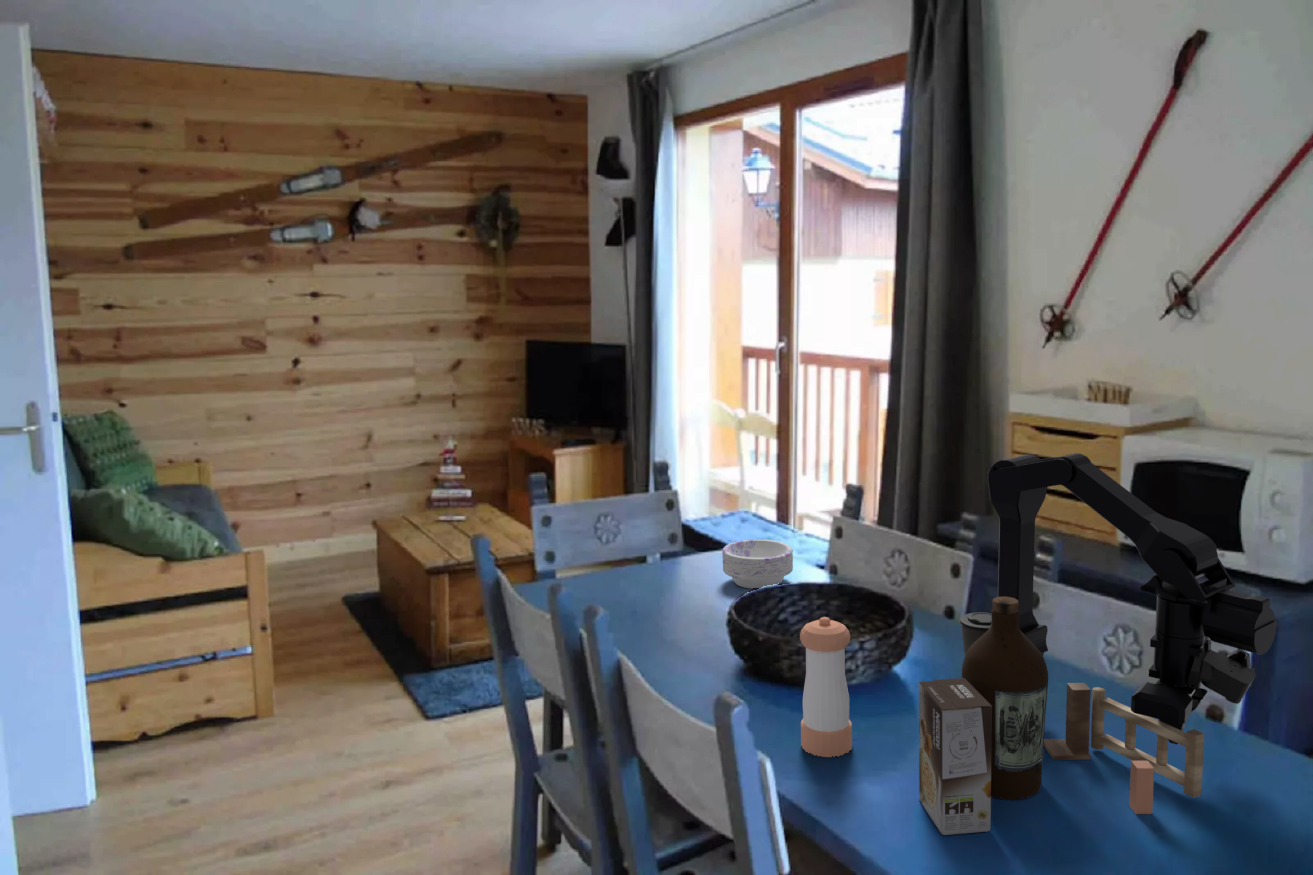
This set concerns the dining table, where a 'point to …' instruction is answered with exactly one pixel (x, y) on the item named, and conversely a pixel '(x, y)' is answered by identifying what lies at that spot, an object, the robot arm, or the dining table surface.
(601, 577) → the dining table surface
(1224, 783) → the dining table surface
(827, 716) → the salt shaker
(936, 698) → the coffee box
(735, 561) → the white patterned bowl
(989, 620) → the coffee cup
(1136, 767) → the post
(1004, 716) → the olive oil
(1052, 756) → the hinge post
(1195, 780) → the gate
